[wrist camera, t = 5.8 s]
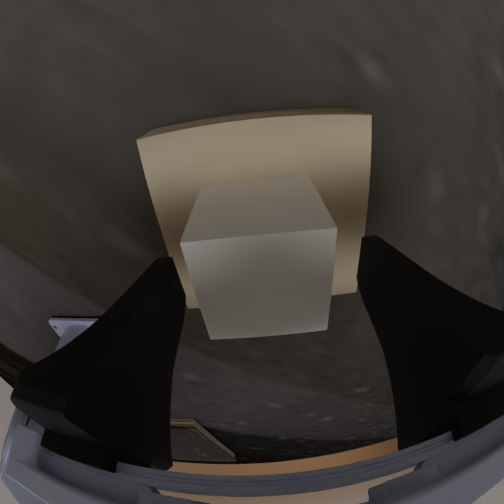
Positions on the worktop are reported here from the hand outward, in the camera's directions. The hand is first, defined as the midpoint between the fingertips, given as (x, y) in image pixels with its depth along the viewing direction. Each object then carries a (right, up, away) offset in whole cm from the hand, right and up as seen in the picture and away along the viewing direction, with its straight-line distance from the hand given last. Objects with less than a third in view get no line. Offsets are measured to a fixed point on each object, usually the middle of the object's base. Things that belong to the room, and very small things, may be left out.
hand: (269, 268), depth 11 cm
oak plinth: (0, +4, +5) cm, 6 cm away
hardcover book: (-14, -32, +30) cm, 46 cm away
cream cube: (0, +2, +3) cm, 3 cm away
